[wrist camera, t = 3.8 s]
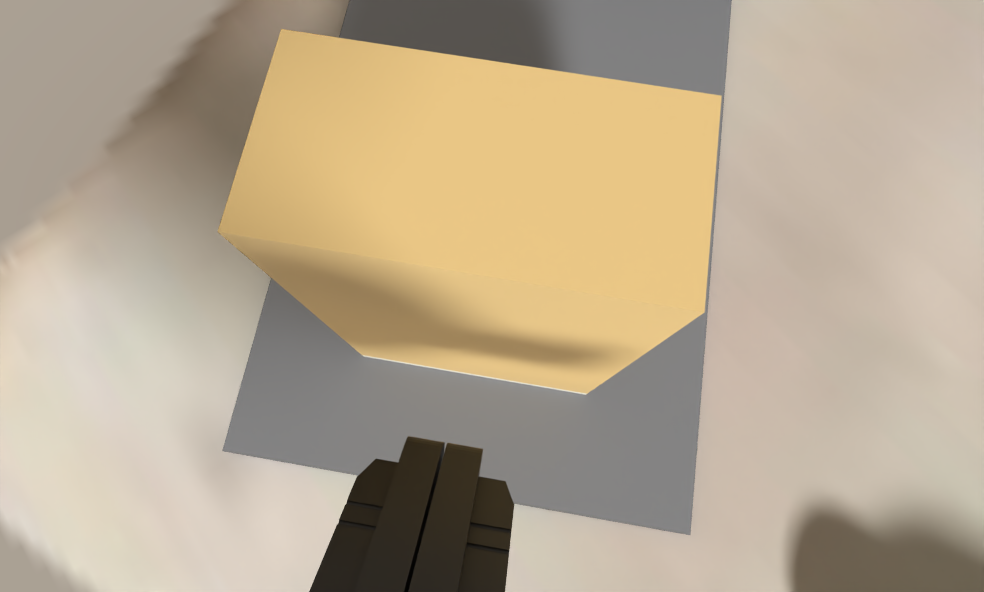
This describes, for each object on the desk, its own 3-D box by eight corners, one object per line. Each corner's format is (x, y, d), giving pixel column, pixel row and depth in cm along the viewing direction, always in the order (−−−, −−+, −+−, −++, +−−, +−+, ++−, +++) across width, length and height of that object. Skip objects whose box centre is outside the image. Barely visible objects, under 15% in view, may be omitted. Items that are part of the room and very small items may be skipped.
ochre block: (599, 287, 22) (721, 95, 11) (585, 394, 21) (704, 312, 10) (387, 251, 22) (281, 28, 11) (363, 356, 21) (217, 231, 10)
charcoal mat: (731, -38, 27) (735, -45, 26) (686, 533, 20) (690, 535, 20) (378, -88, 27) (376, -96, 27) (227, 451, 21) (222, 451, 21)
